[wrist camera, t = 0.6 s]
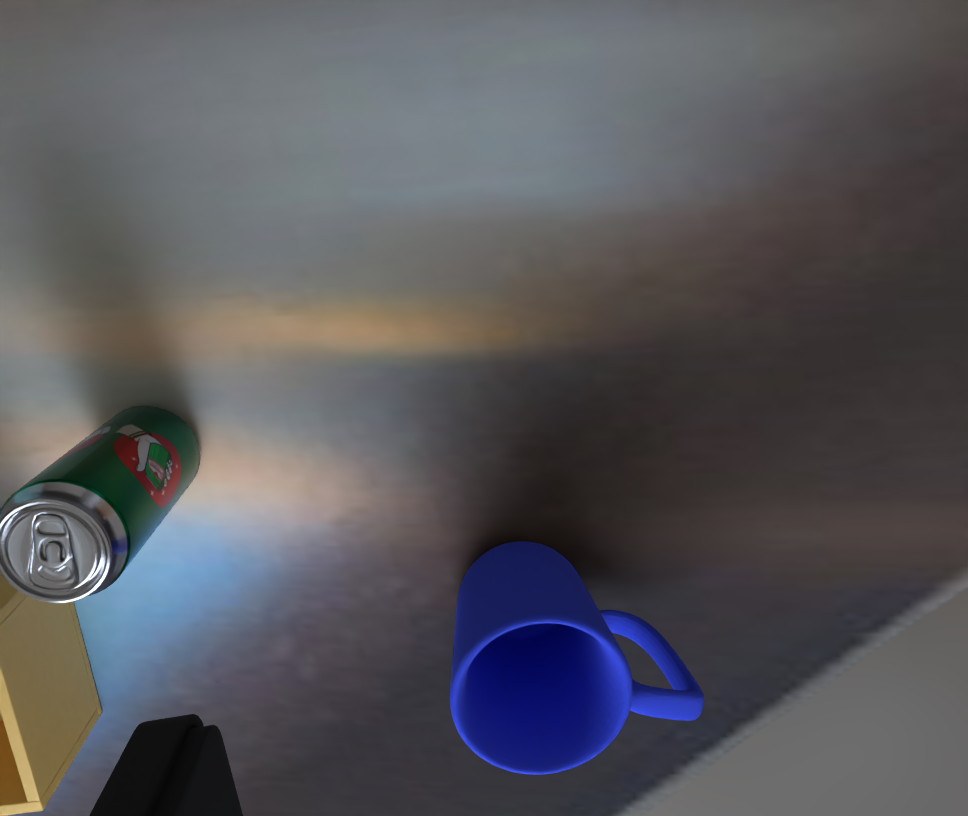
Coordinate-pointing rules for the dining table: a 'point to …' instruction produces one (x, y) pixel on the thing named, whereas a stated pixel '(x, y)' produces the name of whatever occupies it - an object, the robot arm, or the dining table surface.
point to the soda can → (96, 505)
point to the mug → (550, 664)
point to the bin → (40, 698)
